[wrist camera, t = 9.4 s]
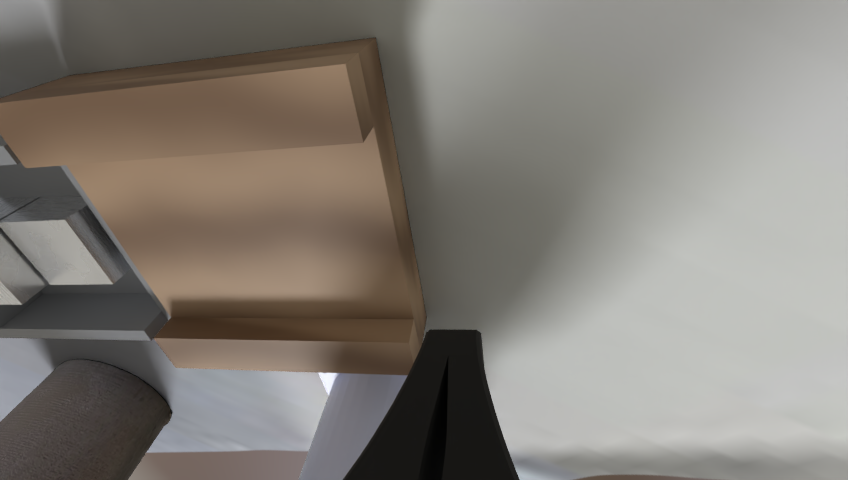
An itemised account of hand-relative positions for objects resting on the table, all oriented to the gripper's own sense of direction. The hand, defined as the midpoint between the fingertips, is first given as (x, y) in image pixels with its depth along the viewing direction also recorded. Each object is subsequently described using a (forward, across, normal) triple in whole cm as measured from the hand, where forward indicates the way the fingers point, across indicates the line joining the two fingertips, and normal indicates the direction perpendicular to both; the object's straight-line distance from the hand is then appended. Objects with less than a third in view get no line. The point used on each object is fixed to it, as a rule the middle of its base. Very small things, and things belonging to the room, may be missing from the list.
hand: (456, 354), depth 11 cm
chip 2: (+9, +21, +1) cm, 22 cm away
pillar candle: (+10, +31, +18) cm, 37 cm away
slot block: (+9, +10, +1) cm, 14 cm away
